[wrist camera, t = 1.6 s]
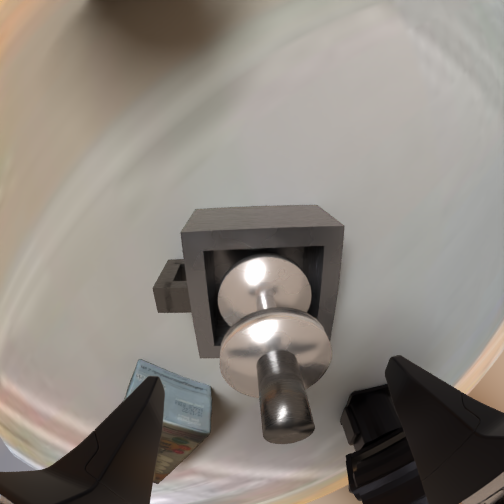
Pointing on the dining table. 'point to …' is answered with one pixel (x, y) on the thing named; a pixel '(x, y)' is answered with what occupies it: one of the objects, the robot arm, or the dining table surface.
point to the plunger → (272, 342)
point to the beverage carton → (177, 415)
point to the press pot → (243, 245)
